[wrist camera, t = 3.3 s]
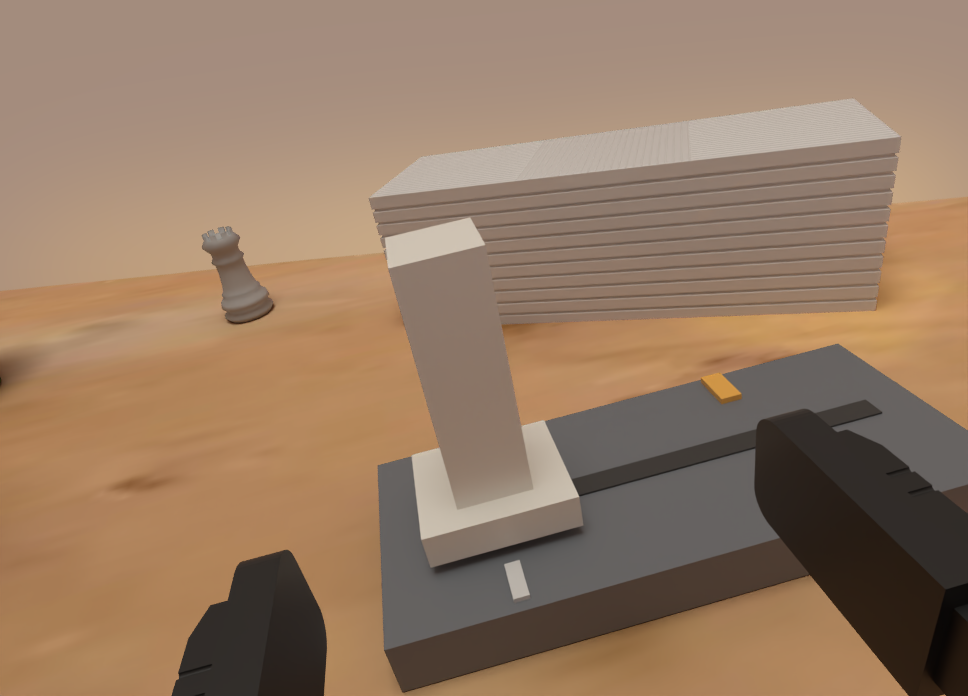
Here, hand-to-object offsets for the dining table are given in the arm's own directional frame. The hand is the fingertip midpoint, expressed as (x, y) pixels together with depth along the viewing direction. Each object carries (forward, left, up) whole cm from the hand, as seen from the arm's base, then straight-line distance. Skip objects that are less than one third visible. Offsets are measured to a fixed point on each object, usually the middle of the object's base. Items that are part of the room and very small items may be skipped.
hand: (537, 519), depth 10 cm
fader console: (+13, +3, -13) cm, 19 cm away
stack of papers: (+33, +14, -14) cm, 39 cm away
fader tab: (+8, +8, -10) cm, 15 cm away
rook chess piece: (+21, +45, -13) cm, 52 cm away
